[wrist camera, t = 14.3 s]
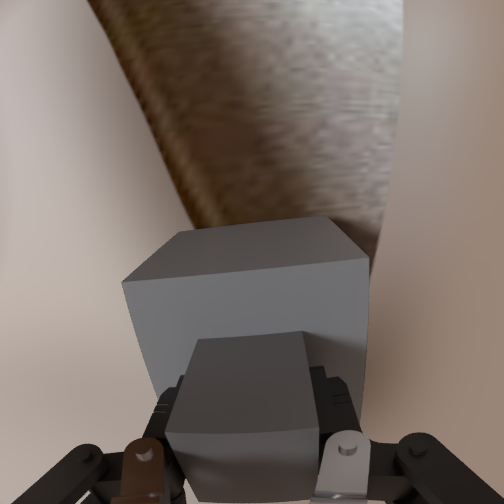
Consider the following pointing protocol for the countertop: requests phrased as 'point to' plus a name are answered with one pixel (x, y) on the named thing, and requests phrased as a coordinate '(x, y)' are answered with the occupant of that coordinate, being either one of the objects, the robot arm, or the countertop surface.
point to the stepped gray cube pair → (251, 348)
